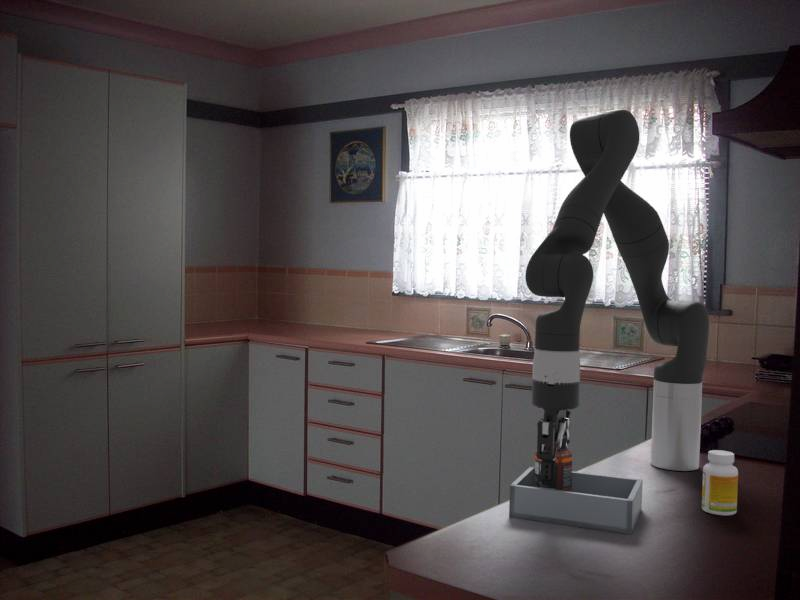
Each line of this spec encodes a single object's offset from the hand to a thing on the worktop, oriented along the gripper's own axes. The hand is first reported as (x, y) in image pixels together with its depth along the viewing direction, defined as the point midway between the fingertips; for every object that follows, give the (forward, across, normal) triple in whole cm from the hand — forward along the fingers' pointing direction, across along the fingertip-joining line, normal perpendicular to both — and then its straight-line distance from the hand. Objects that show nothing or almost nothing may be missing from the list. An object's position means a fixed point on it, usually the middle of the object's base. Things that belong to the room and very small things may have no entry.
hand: (552, 478), depth 133 cm
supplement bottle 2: (+5, -12, +25) cm, 28 cm away
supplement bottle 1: (+5, 0, 0) cm, 5 cm away
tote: (+5, 0, +4) cm, 7 cm away
